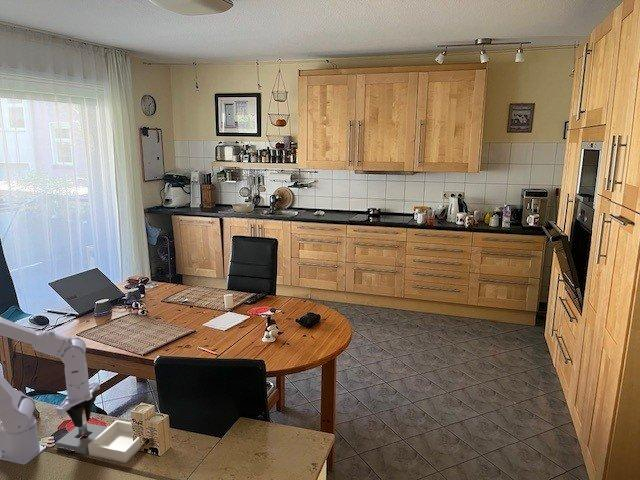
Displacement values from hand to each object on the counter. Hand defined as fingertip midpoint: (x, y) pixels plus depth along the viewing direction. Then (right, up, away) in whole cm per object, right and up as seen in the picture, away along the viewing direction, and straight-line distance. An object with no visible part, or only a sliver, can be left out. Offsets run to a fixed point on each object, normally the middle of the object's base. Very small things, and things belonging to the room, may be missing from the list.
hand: (82, 423), depth 136 cm
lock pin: (0, -3, +1) cm, 3 cm away
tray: (+12, -6, -1) cm, 13 cm away
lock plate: (0, -6, +1) cm, 6 cm away
